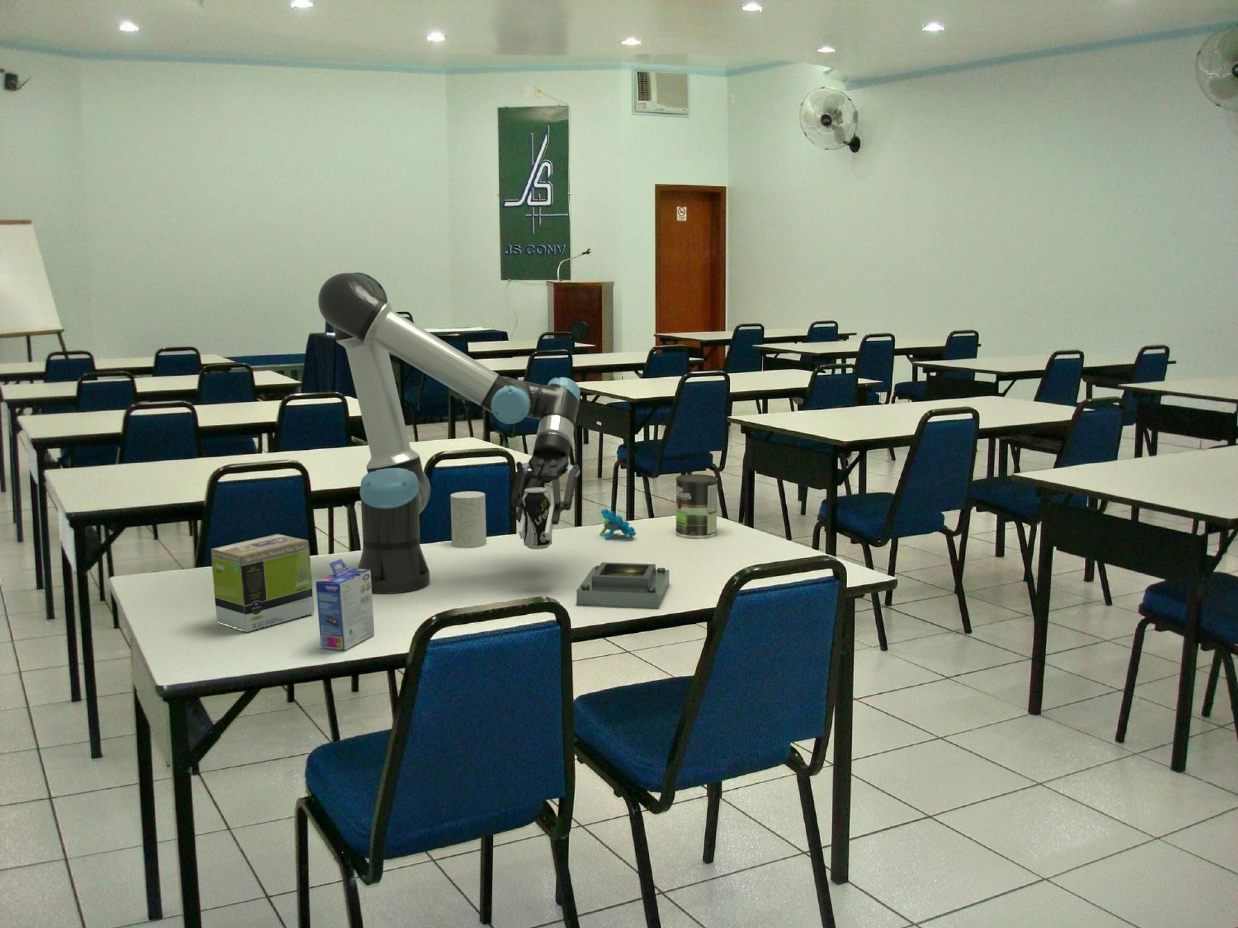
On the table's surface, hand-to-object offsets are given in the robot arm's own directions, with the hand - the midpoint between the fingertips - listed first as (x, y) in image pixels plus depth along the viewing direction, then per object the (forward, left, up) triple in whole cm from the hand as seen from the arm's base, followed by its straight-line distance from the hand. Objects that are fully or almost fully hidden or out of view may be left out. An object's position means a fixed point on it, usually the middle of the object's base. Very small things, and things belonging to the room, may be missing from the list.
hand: (534, 535), depth 231 cm
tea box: (-51, +12, -12) cm, 53 cm away
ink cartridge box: (-42, -9, -12) cm, 44 cm away
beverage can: (+2, +3, -3) cm, 5 cm away
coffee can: (+58, +28, -12) cm, 66 cm away
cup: (+6, +48, -12) cm, 50 cm away
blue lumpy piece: (+40, +35, -12) cm, 54 cm away
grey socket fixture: (+15, -9, -12) cm, 22 cm away
